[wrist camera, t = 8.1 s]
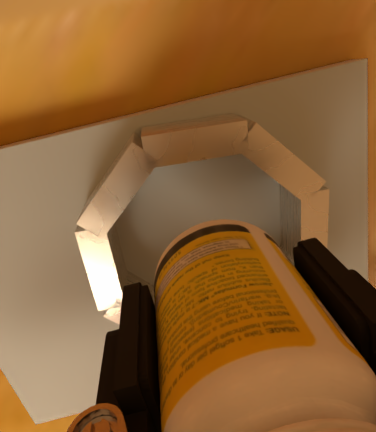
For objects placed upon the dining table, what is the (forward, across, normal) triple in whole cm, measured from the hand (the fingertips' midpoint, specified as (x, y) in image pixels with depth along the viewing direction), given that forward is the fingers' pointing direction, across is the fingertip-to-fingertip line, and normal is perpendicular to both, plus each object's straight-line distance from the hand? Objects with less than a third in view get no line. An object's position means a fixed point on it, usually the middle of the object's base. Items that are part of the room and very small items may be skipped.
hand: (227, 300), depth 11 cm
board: (+7, +2, +2) cm, 8 cm away
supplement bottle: (+2, 0, 0) cm, 2 cm away
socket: (+6, 0, 0) cm, 6 cm away
